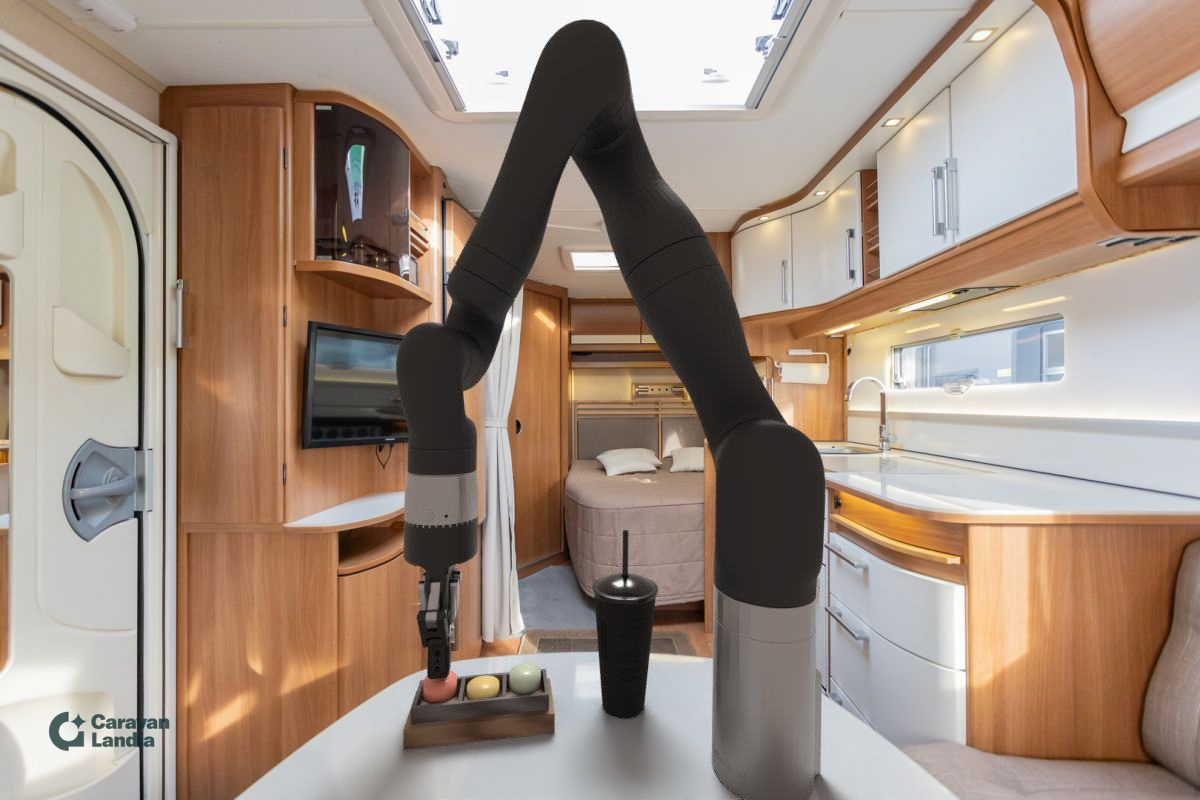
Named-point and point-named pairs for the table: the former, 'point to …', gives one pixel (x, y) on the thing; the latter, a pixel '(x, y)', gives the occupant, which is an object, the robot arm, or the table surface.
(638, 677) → the drinking cup
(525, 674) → the button sage
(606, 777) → the table surface
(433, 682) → the button coral
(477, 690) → the button ochre
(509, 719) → the toy traffic light
